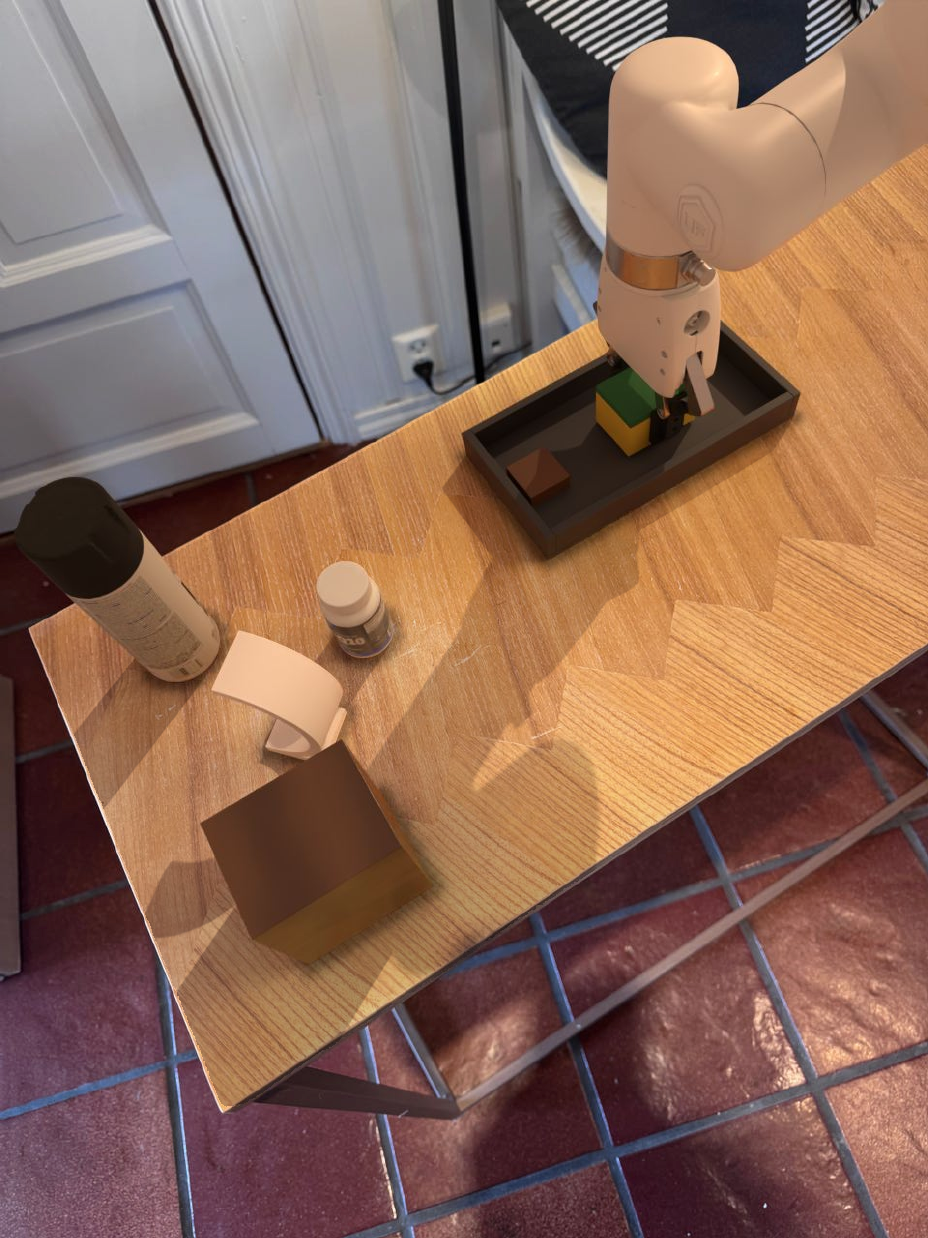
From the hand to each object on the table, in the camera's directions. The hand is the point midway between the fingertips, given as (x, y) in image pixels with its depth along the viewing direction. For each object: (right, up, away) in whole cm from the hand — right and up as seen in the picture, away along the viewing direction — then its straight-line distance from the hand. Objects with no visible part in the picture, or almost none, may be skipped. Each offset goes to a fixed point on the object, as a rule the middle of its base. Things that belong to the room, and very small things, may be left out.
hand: (645, 413), depth 77 cm
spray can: (-39, -21, -3) cm, 44 cm away
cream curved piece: (-28, -27, -8) cm, 39 cm away
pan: (-1, -2, +1) cm, 3 cm away
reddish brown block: (-9, -6, -1) cm, 11 cm away
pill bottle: (-24, -19, -5) cm, 31 cm away
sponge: (0, 0, +1) cm, 1 cm away
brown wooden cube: (-24, -37, -14) cm, 46 cm away
